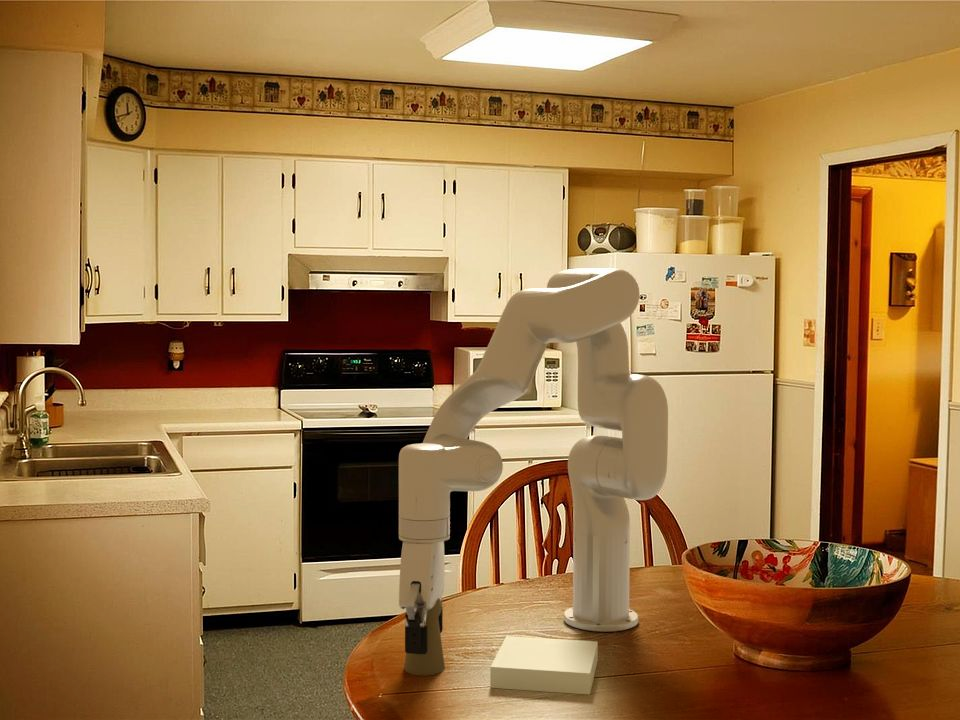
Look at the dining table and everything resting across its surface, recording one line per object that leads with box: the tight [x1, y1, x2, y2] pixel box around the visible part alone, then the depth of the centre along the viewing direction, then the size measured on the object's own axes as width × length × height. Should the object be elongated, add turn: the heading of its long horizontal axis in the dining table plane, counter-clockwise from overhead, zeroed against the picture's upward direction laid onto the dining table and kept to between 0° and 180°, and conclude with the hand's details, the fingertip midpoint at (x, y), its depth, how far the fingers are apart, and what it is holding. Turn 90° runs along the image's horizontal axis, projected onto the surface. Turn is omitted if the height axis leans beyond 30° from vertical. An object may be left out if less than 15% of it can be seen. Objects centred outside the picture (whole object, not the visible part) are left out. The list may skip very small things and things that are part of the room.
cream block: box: [489, 635, 599, 695], centre depth 156 cm, size 14×14×3 cm
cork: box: [403, 598, 446, 676], centre depth 158 cm, size 6×6×11 cm
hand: (424, 642), depth 158 cm, fingers open, 9 cm apart
